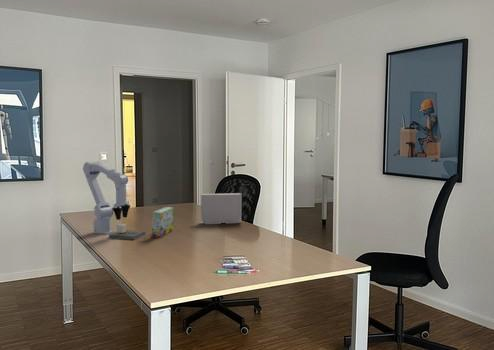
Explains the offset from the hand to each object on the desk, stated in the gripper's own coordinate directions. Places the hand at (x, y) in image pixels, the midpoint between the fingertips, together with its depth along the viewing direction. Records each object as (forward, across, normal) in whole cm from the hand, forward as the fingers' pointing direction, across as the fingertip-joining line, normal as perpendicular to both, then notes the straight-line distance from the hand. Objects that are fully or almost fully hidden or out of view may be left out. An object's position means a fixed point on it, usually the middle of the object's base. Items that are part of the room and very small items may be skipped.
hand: (121, 218), depth 276 cm
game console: (+11, +55, -44) cm, 72 cm away
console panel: (+10, 0, -4) cm, 11 cm away
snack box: (+11, +12, -21) cm, 26 cm away
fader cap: (+8, 0, 0) cm, 8 cm away
